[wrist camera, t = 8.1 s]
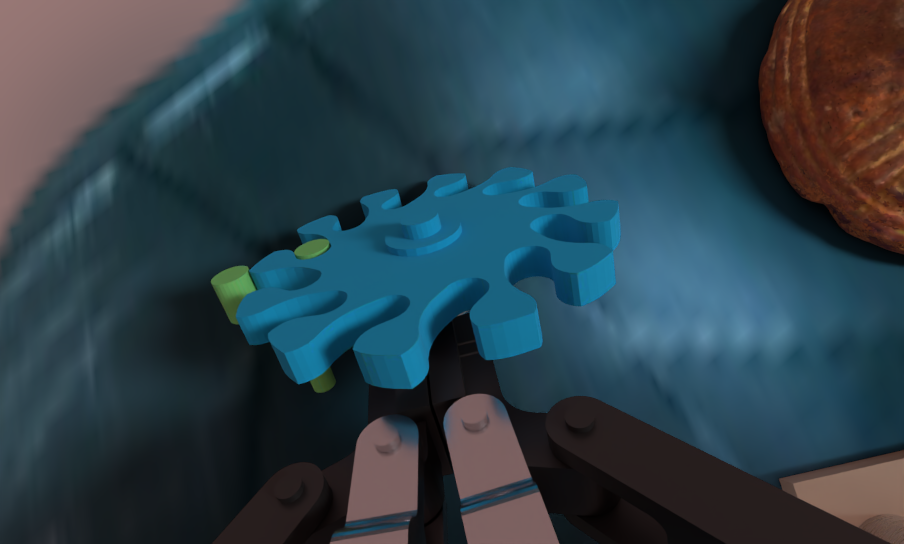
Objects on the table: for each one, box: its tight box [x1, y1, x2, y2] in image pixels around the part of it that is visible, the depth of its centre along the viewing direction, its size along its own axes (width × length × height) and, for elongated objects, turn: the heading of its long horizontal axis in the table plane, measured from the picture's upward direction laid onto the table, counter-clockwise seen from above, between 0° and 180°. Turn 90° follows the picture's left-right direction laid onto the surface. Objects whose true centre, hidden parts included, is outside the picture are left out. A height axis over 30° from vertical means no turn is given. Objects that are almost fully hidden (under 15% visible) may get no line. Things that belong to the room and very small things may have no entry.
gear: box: [211, 167, 621, 393], centre depth 15 cm, size 11×6×10 cm
